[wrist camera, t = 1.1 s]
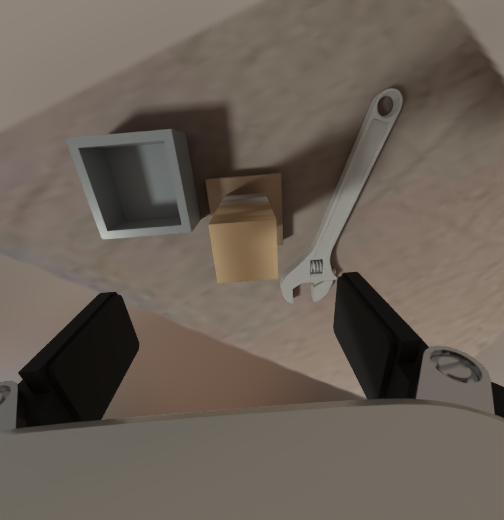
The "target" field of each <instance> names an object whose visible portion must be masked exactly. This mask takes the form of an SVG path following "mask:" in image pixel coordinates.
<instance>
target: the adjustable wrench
mask: <svg viewBox="0 0 504 520" xmlns="http://www.w3.org/2000/svg"><path fill="white" fill-rule="evenodd" d="M384 96H389V97H391V99H392V101H393V107H392V110H391V112H390V113H389V114H387V115H385V116H381V115H379V113H378V110H377V104H378V101H379V100H380V99H381V98H382V97H384ZM402 102H403V98H402V95H401V93H400V91H398V90H397V89H394V88H390V89H387V90H384V91H382V92H381V93H379V94H377V95H376V96H375V98H374V99H373V101H372V103H371V105H370V108H369V110H368V112H367V115H366V117H365V120H364V122H363V124H362V127H361V129H360V132H359V134H358V136H357V139H356V141H355V143H354V146H353V148H352V151H351V153H350V155H349V158H348V160H347V163H346V165H345V167H344V170H343V172H342V175H341V177H340V179H339V182H338V184H337V187H336V189H335V191H334V194H333V196H332V199H331V201H330V203H329V206H328V208H327V211H326V213H325V215H324V218H323V220H322V223H321V225H320V227H319V230H318V232H317V235H316V237H315V239H314V241H313V243H312V245H311V246H310V248H309V249H308V250H307V251H306V252H305V254H304V255H303V256H302V257H301V258H300V259H299V260H298V261H297V262H295V263H294V264H293V265H292V266H291V267H290V268H288V269H287V270H286V271H285V272H284V274H283V276H282V278H281V283H280V286H281V290H282V294H283V296H284V298H285V300H286V301H288V302H289V303H291V304H293V288H295V287H297V286H298V285H300V284H302V283H309V282H311V283H312V293H311V297H312V299H313V301H314V302H317V301H319V300H320V299H321V298H323V297H324V296H325V295H326V293H327V292H328V291H329V289H330V287H331V285H332V283H333V280H337V278H336V276H335V275H336V270H335V269H331V265H330V255H331V252H332V249H333V246H334V244H335V242H336V240H337V238H338V236H339V234H340V232H341V230H342V228H343V226H344V224H345V222H346V220H347V218H348V216H349V214H350V212H351V210H352V208H353V206H354V204H355V202H356V199H357V197H358V195H359V193H360V191H361V189H362V187H363V185H364V183H365V181H366V179H367V177H368V175H369V173H370V171H371V169H372V167H373V165H374V163H375V161H376V159H377V157H378V155H379V153H380V150H381V148H382V146H383V144H384V142H385V140H386V138H387V136H388V134H389V132H390V130H391V128H392V126H393V124H394V122H395V120H396V118H397V116H398V114H399V112H400V110H401V107H402ZM320 259H321V260H320Z"/></svg>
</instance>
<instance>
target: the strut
mask: <svg viewBox="0 0 504 520" xmlns="http://www.w3.org/2000/svg"><path fill="white" fill-rule="evenodd" d="M208 226H209V232H210V238H211V245H212V251H213V257H214V263H215V269H216V276H217V282H218V283H229V282H242V281H256V280H269V279H278V258H277V229H276V218H275V215H274V213H273V210H272V208H271V206H270V203H269V201H268V198H267V196H266V193H254V194H242V195H230V196H224V198H223V199H222V201H221V203H220V205H219V206H218V208H217V210H216V212H215V214H214V215H213V217H212V219H211V221H210V223H209V224H208Z"/></svg>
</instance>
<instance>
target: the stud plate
mask: <svg viewBox="0 0 504 520" xmlns="http://www.w3.org/2000/svg"><path fill="white" fill-rule="evenodd" d="M205 182H206V189H207V195H208V202H209V208H210V215H211V219H212V217H213V215H214V214H215V212H216V210H217V208H218V206H219V205H220V203H221V201H222V199H223V198H224V196H230V195H242V194H254V193H266V196H267V198H268V201H269V203H270V206H271V208H272V210H273V213H274V215H275V218H276V229H277V246H279V245H283V215H282V173H280V172H278V173H266V174H254V175H242V176H230V177H218V178H207V179H206V180H205Z"/></svg>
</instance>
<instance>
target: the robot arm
mask: <svg viewBox="0 0 504 520" xmlns="http://www.w3.org/2000/svg"><path fill="white" fill-rule="evenodd" d="M333 328H334V333H335V335H336V337H337V339H338V341H339V343H340V345H341V347H342V349H343V351H344V353H345V355H346V357H347V359H348V361H349V363H350V365H351V367H352V369H353V371H354V373H355V375H356V377H357V379H358V381H359V383H360V385H361V387H362V389H363V391H364V393H365V395H366V397H367V399H368V400H351V401H334V402H319V403H306V404H293V405H279V406H266V407H253V408H240V409H227V410H215V411H204V412H203V411H202V412H190V413H178V414H167V415H154V416H143V417H131V418H119V419H107V420H101V419H102V417H103V415H104V413H105V411H106V410H107V408H108V406H109V404H110V402H111V400H112V398H113V397H114V395H115V393H116V391H117V389H118V387H119V385H120V383H121V382H122V380H123V377H124V376H125V374H126V372H127V370H128V369H129V367H130V365H131V363H132V361H133V359H134V357H135V355H136V354H137V352H138V350H139V341H138V338H137V336H136V333H135V330H134V328H133V325H132V322H131V319H130V317H129V314H128V311H127V309H126V306H125V303H124V300H123V298H122V296H121V295H118V294H117V293H116V292H108V293H100V294H99V295H98V296H96V298H94V299H93V300H92V301H91V302H90V303H89V304H88V305H87V306H86V307H85V308H84V309H83V310H82V311H81V312H80V313H79V314H78V315H77V316H76V317H75V318H74V319H73V320H72V321H71V322H70V323H69V324H68V325H67V326H66V327H65V328H64V329H63V330H61V332H59V333H58V334H57V335H56V336H55V337H54V338H53V339H52V340H51V341H50V342H49V343H48V344H47V345H46V346H45V347H44V348H43V349H42V350H41V351H40V352H39V353H38V354H37V355H36V356H35V357H34V358H33V359H32V360H31V361H30V362H29V363H28V364H27V365H26V366H24V367H23V368H22V370H21V371H19V372H18V373H19V375H20V376H21V377H22V379H23V380H22V381H21V382H20V383H19V384H17V383H16V382H13V381H4V382H0V520H504V387H502V386H500V385H498V384H495V383H493V382H491V379H490V376H489V373H488V371H487V370H486V369H485V367H484V366H483V365H482V364H481V363H479V362H478V361H477V360H476V359H475V358H473V357H471V356H470V355H468V354H466V353H464V352H462V351H459V350H457V349H454V348H450V347H446V346H432V347H428V346H427V344H426V343H425V342H424V341H423V340H422V339H421V338H420V337H419V336H418V335H417V334H416V333H415V332H414V331H413V329H412V328H411V327H410V326H409V325H408V324H407V323H406V322H405V321H404V320H403V319H402V318H401V317H400V316H399V315H398V314H397V313H396V312H395V311H394V310H393V308H392V307H391V306H390V305H389V304H388V303H387V302H386V301H385V300H384V299H383V298H382V297H381V296H380V295H379V294H378V293H377V292H376V291H375V290H374V289H373V288H372V286H371V285H370V284H369V283H368V282H367V281H366V280H365V279H364V278H363V277H362V276H361V275H360V274H359V273H358V272H348V273H343V274H342V276H340V277H338V280H337V291H336V302H335V314H334V325H333Z"/></svg>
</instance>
